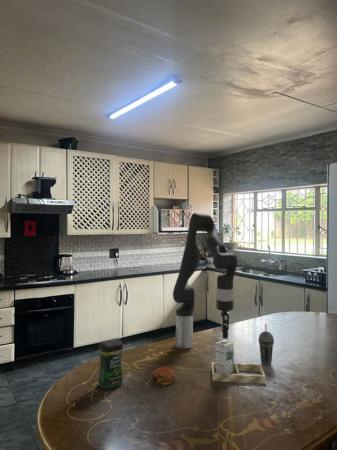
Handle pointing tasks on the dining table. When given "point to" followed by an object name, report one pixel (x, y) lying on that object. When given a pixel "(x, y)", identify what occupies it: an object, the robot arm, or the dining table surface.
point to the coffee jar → (110, 363)
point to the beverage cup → (266, 347)
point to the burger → (164, 376)
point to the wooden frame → (238, 377)
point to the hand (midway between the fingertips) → (224, 335)
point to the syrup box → (224, 357)
